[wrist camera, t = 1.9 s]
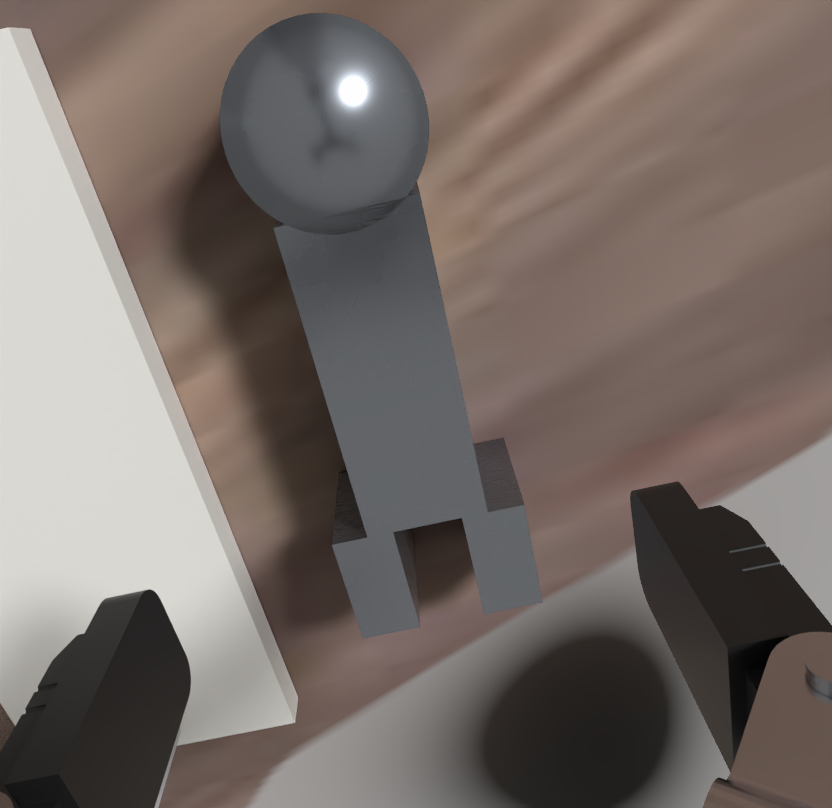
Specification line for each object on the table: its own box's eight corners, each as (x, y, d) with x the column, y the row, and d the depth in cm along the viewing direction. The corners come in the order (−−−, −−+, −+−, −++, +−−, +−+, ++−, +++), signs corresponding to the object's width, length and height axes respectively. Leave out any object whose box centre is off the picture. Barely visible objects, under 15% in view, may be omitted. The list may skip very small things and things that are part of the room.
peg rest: (-332, 120, 19) (-562, 142, 15) (29, 28, 19) (-88, 20, 14) (56, 745, 30) (-5, 875, 25) (298, 697, 29) (282, 822, 24)
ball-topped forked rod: (207, 48, 19) (166, 48, 16) (418, -4, 19) (427, -18, 15) (365, 557, 26) (362, 638, 23) (520, 525, 26) (542, 602, 22)
